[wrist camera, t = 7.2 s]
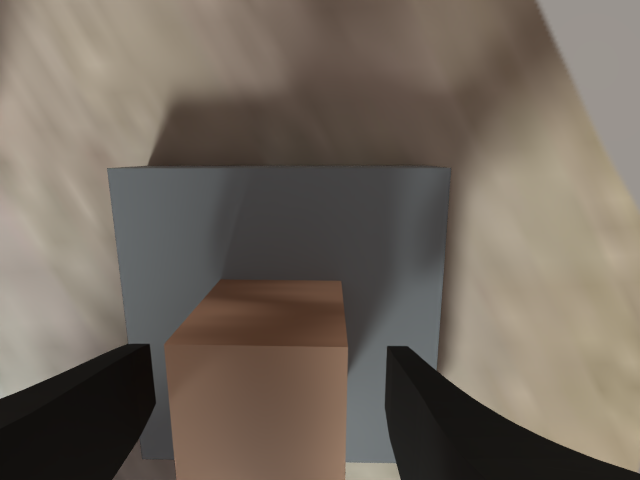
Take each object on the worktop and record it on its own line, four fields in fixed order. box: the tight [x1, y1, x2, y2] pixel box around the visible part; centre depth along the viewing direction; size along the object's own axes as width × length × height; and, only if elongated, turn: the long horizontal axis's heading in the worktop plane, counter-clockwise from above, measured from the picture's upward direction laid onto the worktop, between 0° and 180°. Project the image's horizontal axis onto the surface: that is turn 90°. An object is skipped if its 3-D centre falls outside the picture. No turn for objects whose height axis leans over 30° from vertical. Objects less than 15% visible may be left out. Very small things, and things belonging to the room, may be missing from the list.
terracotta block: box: [164, 279, 348, 480], centre depth 12 cm, size 4×4×5 cm
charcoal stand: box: [107, 166, 451, 463], centre depth 16 cm, size 12×12×3 cm
